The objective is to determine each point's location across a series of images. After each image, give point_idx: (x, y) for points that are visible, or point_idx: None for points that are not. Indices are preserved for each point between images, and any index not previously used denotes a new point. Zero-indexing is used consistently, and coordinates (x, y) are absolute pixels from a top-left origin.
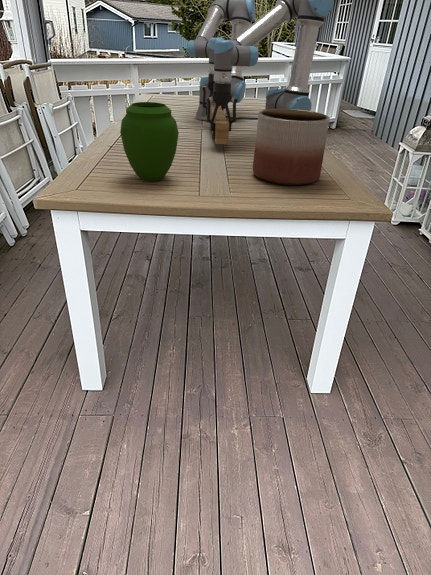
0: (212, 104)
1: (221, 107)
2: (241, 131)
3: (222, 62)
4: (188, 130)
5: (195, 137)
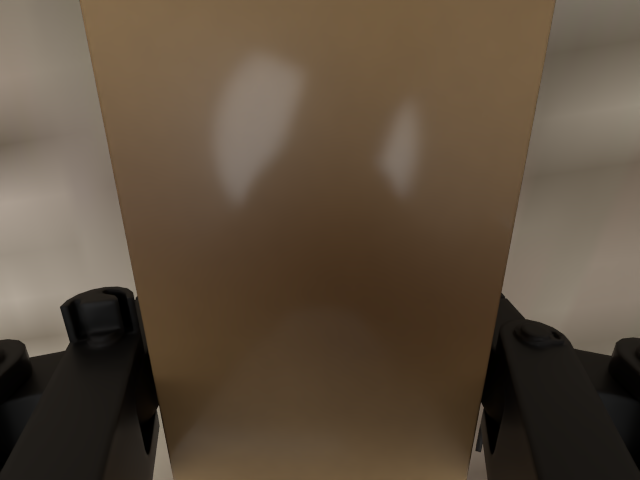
0: (249, 254)
1: (490, 449)
2: (632, 200)
3: None
4: (40, 236)
5: (155, 474)
